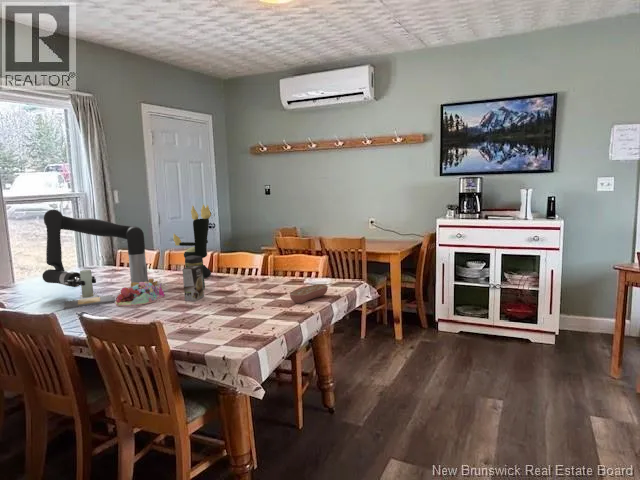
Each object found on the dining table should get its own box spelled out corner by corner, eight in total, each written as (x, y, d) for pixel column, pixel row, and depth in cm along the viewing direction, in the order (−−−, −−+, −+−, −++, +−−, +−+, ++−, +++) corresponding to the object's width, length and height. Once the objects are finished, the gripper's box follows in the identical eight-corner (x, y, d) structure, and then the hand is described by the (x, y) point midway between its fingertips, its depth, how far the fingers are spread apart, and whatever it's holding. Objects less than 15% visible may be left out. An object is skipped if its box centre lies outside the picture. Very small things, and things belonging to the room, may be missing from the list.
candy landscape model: (115, 297, 236) (113, 280, 235) (162, 291, 246) (160, 274, 245) (115, 308, 214) (113, 289, 212) (167, 301, 223) (166, 283, 222)
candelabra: (200, 272, 291) (195, 202, 285) (224, 275, 278) (219, 202, 272) (175, 278, 276) (169, 204, 270) (199, 282, 263) (193, 204, 257)
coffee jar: (207, 288, 246) (205, 255, 243) (196, 291, 239) (193, 257, 237) (196, 286, 251) (193, 253, 249) (184, 289, 245) (181, 256, 243)
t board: (111, 292, 245) (111, 290, 245) (114, 302, 225) (113, 299, 225) (65, 299, 235) (65, 296, 235) (63, 309, 215) (63, 307, 215)
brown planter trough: (300, 306, 204) (300, 296, 203) (284, 303, 210) (284, 293, 209) (331, 295, 221) (331, 285, 221) (316, 293, 228) (315, 283, 227)
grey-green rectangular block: (93, 294, 228) (91, 269, 227) (93, 296, 224) (91, 271, 222) (82, 295, 226) (79, 270, 224) (82, 298, 222) (79, 272, 220)
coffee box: (196, 301, 220) (193, 268, 218) (184, 301, 222) (181, 268, 220) (204, 296, 229) (202, 265, 227) (193, 296, 231) (190, 265, 228)
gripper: (55, 274, 225) (74, 277, 216) (83, 269, 237) (102, 272, 228) (57, 289, 226) (76, 292, 217) (85, 283, 238) (104, 286, 229)
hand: (89, 282), depth 223 cm, fingers closed on grey-green rectangular block, 5 cm apart
